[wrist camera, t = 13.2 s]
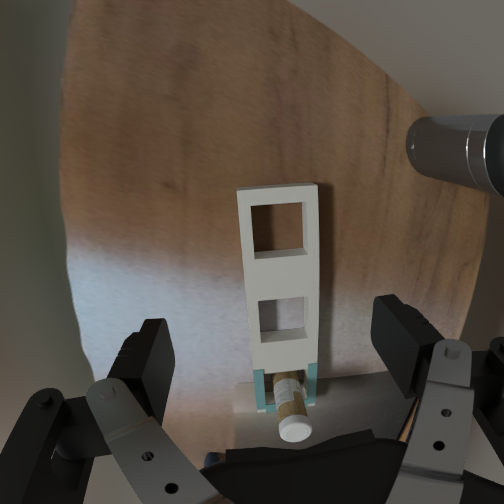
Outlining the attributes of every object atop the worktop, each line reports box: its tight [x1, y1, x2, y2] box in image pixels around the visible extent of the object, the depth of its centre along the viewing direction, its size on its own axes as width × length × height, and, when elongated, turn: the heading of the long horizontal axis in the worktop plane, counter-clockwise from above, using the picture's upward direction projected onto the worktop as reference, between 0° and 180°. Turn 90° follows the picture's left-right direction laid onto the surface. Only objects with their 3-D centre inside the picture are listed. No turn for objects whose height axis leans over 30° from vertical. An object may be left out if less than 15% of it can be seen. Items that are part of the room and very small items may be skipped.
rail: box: [237, 182, 319, 413], centre depth 46 cm, size 10×37×3 cm, turn 4°
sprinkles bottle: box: [272, 370, 312, 442], centre depth 46 cm, size 5×5×13 cm
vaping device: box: [204, 452, 218, 467], centre depth 54 cm, size 3×5×12 cm, turn 164°
